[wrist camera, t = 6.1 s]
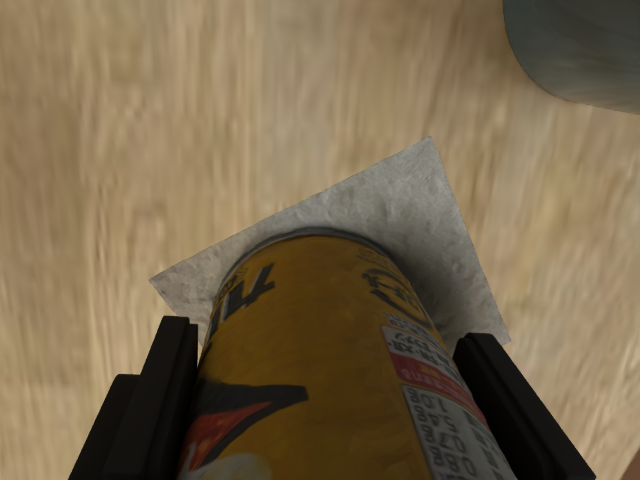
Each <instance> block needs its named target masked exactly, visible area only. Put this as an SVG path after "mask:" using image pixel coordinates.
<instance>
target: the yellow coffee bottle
mask: <svg viewBox="0 0 640 480" xmlns="http://www.w3.org/2000/svg"><path fill="white" fill-rule="evenodd" d="M148 281H149V282H150V283H151V284H152V285H153V287H154V288H155V289H156V290H157V291H158V293H159V294H160V296H161V297H162V298H163V299H164V300H165V302H166V303H167V304H168V305H169V307H170V308H171V309H172V311H173V312H174V313H176V314H177V316H180V317H189V319H190V324H198V341H199V342H200V344H201V345H202V347H203V348H202V353H201V357H200V360H199V364H198V367H197V374H196V377H195V380H194V383H193V390H192V399H191V401H190V408H189V411H188V417H187V420H186V425H185V428H184V431H183V435H182V438H181V446H180V452H179V458H178V461H177V465H176V469H175V475H174V480H518V479H517V478H516V477H515V475H514V473H513V472H512V470H511V468H510V466H509V464H508V462H507V460H506V458H505V456H504V454H503V453H502V451H501V450H500V448H499V446H498V444H497V442H496V440H495V438H494V436H493V435H492V433H491V431H490V429H489V427H488V424H487V422H486V419H485V416H484V415H483V413H482V412H481V410H480V409H479V408H478V406H477V405H476V403H475V402H474V400H473V397H472V393H471V392H470V390H469V389H468V387H467V385H466V383H465V382H464V380H463V379H462V377H461V376H460V374H459V371H458V368H457V366H456V364H455V362H454V361H453V359H452V357H453V354H454V350H455V347H456V344H457V341H458V340H459V338H464V336H465V335H466V334H467V333H469V332H473V333H490V334H492V335H493V336H494V337H495V338H496V339H497V341H498V342H499V343H500V345H501V346H502V345H504V344H507V343H509V342H511V338H510V336H509V334H508V331H507V328H506V326H505V324H504V322H503V319H502V317H501V315H500V312H499V310H498V307H497V305H496V302H495V300H494V297H493V295H492V292H491V289H490V287H489V285H488V282H487V279H486V277H485V274H484V272H483V270H482V268H481V265H480V263H479V260H478V257H477V254H476V252H475V249H474V247H473V244H472V241H471V239H470V236H469V234H468V233H467V231H466V228H465V224H464V221H463V218H462V215H461V213H460V210H459V208H458V205H457V202H456V199H455V197H454V195H453V192H452V190H451V187H450V185H449V182H448V180H447V177H446V175H445V171H444V168H443V165H442V163H441V160H440V158H439V155H438V152H437V150H436V148H435V145H434V142H433V140H432V137H431V136H429V137H427V138H425V139H423V140H421V141H419V142H417V143H415V144H413V145H411V146H410V147H408V148H406V149H404V150H402V151H400V152H399V153H397V154H394V155H392V156H390V157H388V158H386V159H383V160H381V161H379V162H378V163H376V164H374V165H372V166H370V167H369V168H367V169H365V170H364V171H362V172H360V173H358V174H355V175H353V176H351V177H349V178H347V179H345V180H343V181H341V182H339V183H337V184H335V185H333V186H331V187H330V188H328V189H326V190H324V191H322V192H320V193H317V194H315V195H313V196H311V197H309V198H307V199H305V200H303V201H301V202H299V203H297V204H295V205H293V206H291V207H288V208H286V209H284V210H282V211H280V212H278V213H276V214H274V215H272V216H270V217H268V218H266V219H264V220H262V221H260V222H258V223H256V224H254V225H252V226H250V227H248V228H247V229H245V230H243V231H241V232H239V233H237V234H235V235H232V236H230V237H229V238H227V239H225V240H223V241H221V242H219V243H217V244H215V245H213V246H211V247H209V248H207V249H205V250H203V251H201V252H199V253H198V254H196V255H194V256H192V257H190V258H188V259H185V260H183V261H181V262H180V263H178V264H176V265H174V266H172V267H170V268H168V269H166V270H165V271H163V272H161V273H159V274H157V275H156V276H154V277H153V278H151V279H149V280H148Z"/></svg>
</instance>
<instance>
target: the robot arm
mask: <svg viewBox="0 0 640 480" xmlns="http://www.w3.org/2000/svg"><path fill="white" fill-rule="evenodd" d="M452 359H453V361H454V362H455V364H456V366H457V368H458V371H459V374H460V376H461V377H462V379H463V380H464V382H465V383H466V385H467V387H468V389H469V390H470V392H471V393H472V397H473V400H474V402H475V403H476V405H477V406H478V408H479V409H480V410H481V412H482V413H483V415H484V416H485V419H486V422H487V424H488V427H489V429H490V431H491V433H492V435H493V436H494V438H495V440H496V442H497V444H498V446H499V448H500V450H501V451H502V453H503V454H504V456H505V458H506V460H507V462H508V464H509V466H510V468H511V470H512V472H513V473H514V475H515V477H516V478H517V479H518V480H595V479H596V475H595V474H594V473H593V471H592V470H591V468H590V467H589V466H588V464H587V463H586V462H585V460H584V459H583V457H582V456H581V455H580V453H579V452H578V451H577V449H576V448H575V446H574V445H573V444H572V442H571V441H570V440H569V438H568V437H567V435H566V434H565V433H564V431H563V430H562V429H561V427H560V426H559V424H558V423H557V422H556V420H555V419H554V418H553V416H552V415H551V413H550V412H549V411H548V409H547V408H546V407H545V405H544V404H543V402H542V401H541V400H540V398H539V397H538V396H537V394H536V393H535V391H534V390H533V389H532V387H531V386H530V385H529V383H528V382H527V380H526V379H525V378H524V376H523V375H522V374H521V372H520V371H519V369H518V368H517V367H516V365H515V364H514V363H513V361H512V360H511V358H510V357H509V356H508V354H507V353H506V352H505V350H504V349H503V347H502V346H501V345H500V343H499V342H498V341H497V339H496V338H495V337H494V336H493V335H492V334H490V333H473V332H469V333H467V334H466V335H465V336H464V338H459V340H458V341H457V344H456V347H455V350H454V354H453V357H452ZM197 360H198V324H190V319H189V317H180V316H163V318H162V320H161V323H160V325H159V328H158V331H157V333H156V336H155V338H154V341H153V343H152V346H151V349H150V351H149V354H148V356H147V359H146V361H145V364H144V366H143V369H142V372H141V374H140V375H134V374H118V375H117V376H116V377H115V379H114V381H113V383H112V385H111V387H110V389H109V392H108V394H107V396H106V398H105V400H104V402H103V405H102V407H101V409H100V411H99V413H98V415H97V418H96V420H95V422H94V424H93V426H92V428H91V431H90V433H89V435H88V437H87V439H86V442H85V444H84V446H83V448H82V450H81V452H80V455H79V457H78V459H77V461H76V463H75V465H74V468H73V470H72V472H71V474H70V476H69V479H68V480H174V475H175V469H176V465H177V461H178V458H179V452H180V446H181V438H182V435H183V431H184V428H185V425H186V420H187V417H188V411H189V408H190V401H191V399H192V390H193V383H194V380H195V377H196V374H197Z"/></svg>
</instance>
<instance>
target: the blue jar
mask: <svg viewBox="0 0 640 480" xmlns="http://www.w3.org/2000/svg"><path fill="white" fill-rule="evenodd" d="M503 13H504V20H505V26H506V31H507V35H508V38H509V42H510V45H511V47H512V49H513V52H514V54H515V56H516V58H517V60H518V62H519V63H520V65H521V66H522V68H523V70H524V71H525V72H526V73H527V74H528V76H529V77H530V78H531V79H532V80H533V81H534V82H535V83H536V84H537V85H539V86H540V87H541V88H542V89H543V90H545V91H547V92H549V93H550V94H552V95H554V96H556V97H558V98H561V99H563V100H566V101H570V102H575V103H579V104H584V105H589V106H594V107H599V108H604V109H609V110H614V111H619V112H624V113H629V114H635V115H640V0H503Z"/></svg>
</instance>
